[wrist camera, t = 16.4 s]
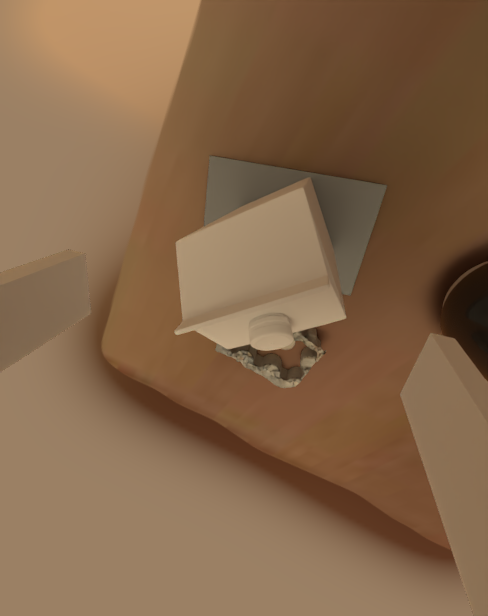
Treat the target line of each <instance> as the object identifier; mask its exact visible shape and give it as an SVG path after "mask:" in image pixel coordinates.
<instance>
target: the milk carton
mask: <svg viewBox="0 0 488 616" xmlns="http://www.w3.org/2000/svg"><path fill="white" fill-rule="evenodd" d="M176 252H177V263H178V274H179V285H180V296H181V307H182V318H183V322H182V323H181V324H180V325H179V326H178V327H177V328H176V330H175V331H174V332H175V334H176V335H179V334H183V333H186V332H189V331H193V330H195V331H197V332H198V333H200V334H202V335H204V336H205V337H207V338H209V339H210V340H212V341H214V342H216V343H217V344H219V345H221V346H223V347H224V348H226V349H232V348H236V347H240V346H244V345H248V344H251V346H252V347H253V348H255V349H258V350H264V351H268V350H276V349H280V348H283V347H286V346H288V345H290V344H291V343H292V342H293V340H294V338H293V333H294V332H298V331H302V330H306V329H310V328H314V327H317V326H321V325H325V324H328V323H332V322H336V321H339V320H343V319H345V318H346V313H345V307H344V302H343V297H342V291H341V286H340V281H339V275H338V270H337V265H336V259H335V254H334V249H333V246H332V243H331V240H330V237H329V234H328V230H327V227H326V224H325V221H324V218H323V215H322V212H321V209H320V205H319V202H318V199H317V196H316V193H315V190H314V187H313V184H312V180H311V178H310V177H308V178H305V179H303V180H301V181H298V182H296V183H294V184H291V185H289V186H287V187H285V188H282V189H280V190H278V191H276V192H273V193H271V194H269V195H266V196H264V197H262V198H260V199H257V200H255V201H253V202H250V203H248V204H246V205H244V206H242V207H240V208H238V209H236V210H234V211H232V212H230V213H228V214H227V215H225V216H223V217H221V218H219V219H217V220H215V221H214V222H212V223H210V224H208V225H206V226H204V227H202V228H200V229H199V230H197V231H195V232H193V233H191V234H189V235H187V236H185V237H184V238H182V239H180V240H178V241H177V242H176Z"/></svg>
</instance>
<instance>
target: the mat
mask: <svg viewBox="0 0 488 616" xmlns="http://www.w3.org/2000/svg"><path fill="white" fill-rule="evenodd" d="M308 177H310V178H311V180H312V184H313V187H314V190H315V193H316V196H317V199H318V202H319V205H320V209H321V212H322V215H323V218H324V221H325V224H326V227H327V230H328V234H329V237H330V240H331V243H332V246H333V249H334V254H335V259H336V265H337V270H338V275H339V281H340V286H341V291H342V294H345V295H351V292H352V289H353V286H354V283H355V280H356V277H357V274H358V271H359V268H360V265H361V262H362V259H363V256H364V253H365V250H366V247H367V244H368V242H369V239H370V236H371V233H372V230H373V227H374V224H375V221H376V218H377V215H378V212H379V209H380V206H381V203H382V200H383V197H384V194H385V191H386V188H387V185H383V184H377V183H371V182H365V181H359V180H353V179H347V178H341V177H335V176H329V175H323V174H317V173H311V172H305V171H299V170H294V169H288V168H282V167H276V166H270V165H264V164H258V163H252V162H246V161H240V160H234V159H228V158H222V157H216V156H210V159H209V170H208V182H207V194H206V205H205V217H204V226H206V225H208V224H210V223H212V222H214V221H215V220H217V219H219V218H221V217H223V216H225V215H227V214H228V213H230V212H232V211H234V210H236V209H238V208H240V207H242V206H244V205H246V204H248V203H250V202H253V201H255V200H257V199H260V198H262V197H264V196H266V195H269V194H271V193H273V192H276V191H278V190H280V189H282V188H285V187H287V186H289V185H291V184H294V183H296V182H298V181H301V180H303V179H305V178H308Z"/></svg>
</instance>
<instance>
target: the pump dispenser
mask: <svg viewBox="0 0 488 616" xmlns="http://www.w3.org/2000/svg"><path fill="white" fill-rule="evenodd" d="M440 322H441V330H442V333H443V336H447V337H451V338H455V339H456V341H457V342H458V343H459V345H460V346H461V347H462V349H463V350H464V351H465V353H466V354H467V355H468V357H469V358H470V359H471V361H472V362H473V363H474V365H475V366H476V367H477V369H478V370H479V371H480V373H481V374H482V376H483V377H484V378H485V379H486V380H487V381H488V261H486V262H484V263H481V264H479V265H477V266H475V267H473V268H471V269H470V270H468V271H467V272H465V273H464V274H463V275H461V276H460V277H459V278H458V279H457V280H456V281H455V282H454V283H453V285H452V286H451V287H450V289H449V291H448V292H447V294H446V296H445V299H444V302H443V306H442V312H441V321H440Z"/></svg>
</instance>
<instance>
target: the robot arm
mask: <svg viewBox="0 0 488 616" xmlns="http://www.w3.org/2000/svg"><path fill="white" fill-rule="evenodd" d="M89 297H90V296H89V286H88V277H87V266H86V255H85V253H81V252H77V251H73V250H69V249H68V250H65V251H63V252H59V253H56V254H53V255H51V256H48V257H45V258H42V259H39V260H36V261H33V262H30V263H27V264H24V265H21V266H18V267H15V268H12V269H9V270H6V271H3V272H0V372H2V371H3V370H5V369H6V368H8V367H9V366H11V365H12V364H14V363H15V362H17V361H19V360H20V359H22V358H23V357H25V356H26V355H28V354H29V353H31V352H32V351H34V350H35V349H37V348H38V347H40V346H42V345H43V344H45V343H46V342H48V341H49V340H51V339H53V338H54V337H56V336H57V335H59V334H60V333H62V332H63V331H65V330H66V329H68V328H70V327H71V326H73V325H74V324H76V323H77V322H79V321H80V320H81V319H83V318H85V317H86V316H88V315H90V314H91V308H90V307H91V306H90V298H89ZM400 396H401V399H402V402H403V405H404V408H405V411H406V414H407V417H408V420H409V423H410V426H411V429H412V432H413V435H414V438H415V441H416V444H417V447H418V450H419V453H420V456H421V459H422V462H423V465H424V468H425V471H426V474H427V477H428V480H429V483H430V486H431V489H432V492H433V495H434V498H435V501H436V504H437V507H438V510H439V513H440V516H441V519H442V522H443V525H444V528H445V531H446V534H447V538H448V541H449V544H450V547H451V550H452V553H453V555H454V558H455V561H456V565H457V568H458V570H459V573H460V577H461V579H462V583H463V586H464V589H465V592H466V595H467V598H468V601H469V604H470V607H471V610H472V613H473V616H488V382H487V381H486V380H485V378H484V377H483V376H482V374H481V373H480V371H479V370H478V369H477V367H476V366H475V365H474V363H473V362H472V361H471V359H470V358H469V357H468V355H467V354H466V353H465V351H464V350H463V349H462V347H461V346H460V345H459V343H458V342H457V341H456V339H455V338H451V337H447V336H442V335H438V334H434V333H430V335H429V337H428V339H427V341H426V343H425V345H424V347H423V349H422V351H421V353H420V355H419V357H418V359H417V361H416V363H415V365H414V367H413V369H412V371H411V373H410V375H409V377H408V379H407V381H406V383H405V385H404V387H403V389H402V391H401V393H400Z"/></svg>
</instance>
